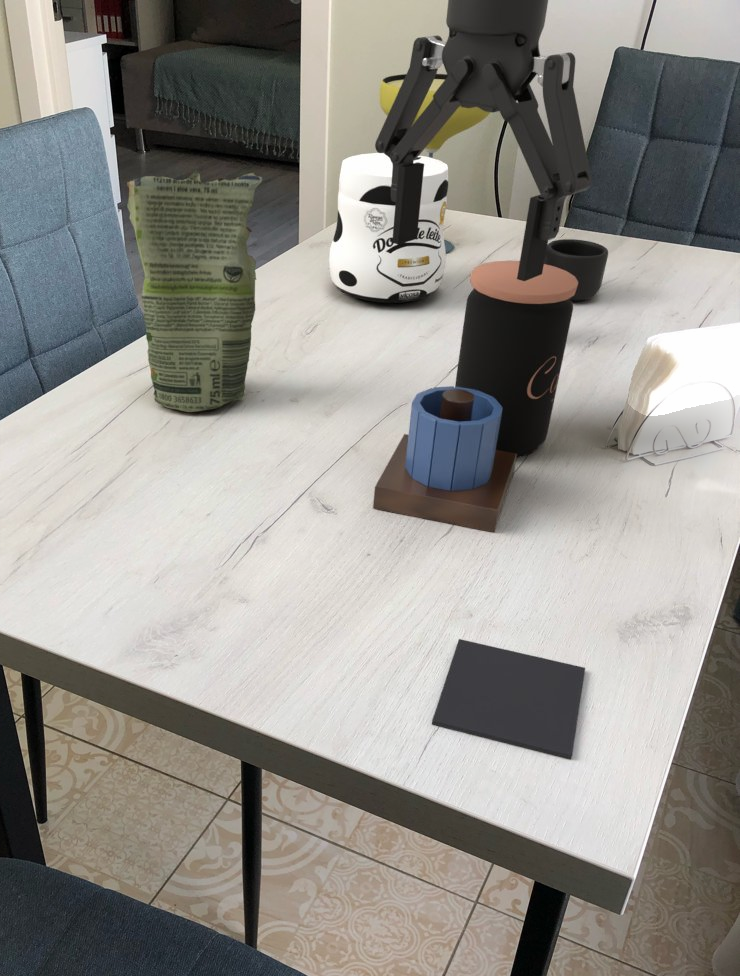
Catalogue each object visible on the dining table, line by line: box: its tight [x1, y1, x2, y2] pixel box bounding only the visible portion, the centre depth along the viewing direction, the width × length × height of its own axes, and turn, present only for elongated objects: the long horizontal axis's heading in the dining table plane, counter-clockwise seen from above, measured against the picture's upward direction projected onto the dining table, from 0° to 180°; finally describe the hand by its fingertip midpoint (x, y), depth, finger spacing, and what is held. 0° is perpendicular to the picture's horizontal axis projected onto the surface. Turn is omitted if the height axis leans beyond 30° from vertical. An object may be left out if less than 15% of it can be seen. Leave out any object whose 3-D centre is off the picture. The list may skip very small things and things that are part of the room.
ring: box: [405, 385, 502, 491], centre depth 92 cm, size 8×8×7 cm
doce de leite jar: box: [328, 152, 449, 304], centre depth 137 cm, size 17×17×18 cm
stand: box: [372, 389, 518, 533], centre depth 92 cm, size 12×12×10 cm
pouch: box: [126, 169, 263, 413], centre depth 105 cm, size 11×12×25 cm
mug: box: [544, 238, 609, 302], centre depth 141 cm, size 12×9×7 cm
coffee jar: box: [454, 260, 578, 459], centre depth 99 cm, size 11×11×18 cm
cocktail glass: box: [378, 73, 491, 254], centre depth 154 cm, size 18×18×25 cm
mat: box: [431, 638, 586, 760], centre depth 71 cm, size 10×10×1 cm
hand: (464, 258), depth 83 cm, fingers open, 13 cm apart
